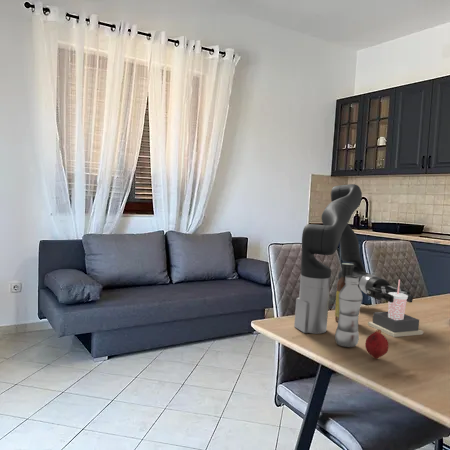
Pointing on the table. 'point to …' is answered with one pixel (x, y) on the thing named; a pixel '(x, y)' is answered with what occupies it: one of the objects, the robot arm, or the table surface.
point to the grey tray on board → (395, 325)
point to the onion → (376, 344)
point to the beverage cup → (397, 305)
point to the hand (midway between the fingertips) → (402, 299)
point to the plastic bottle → (349, 313)
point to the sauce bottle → (342, 284)
